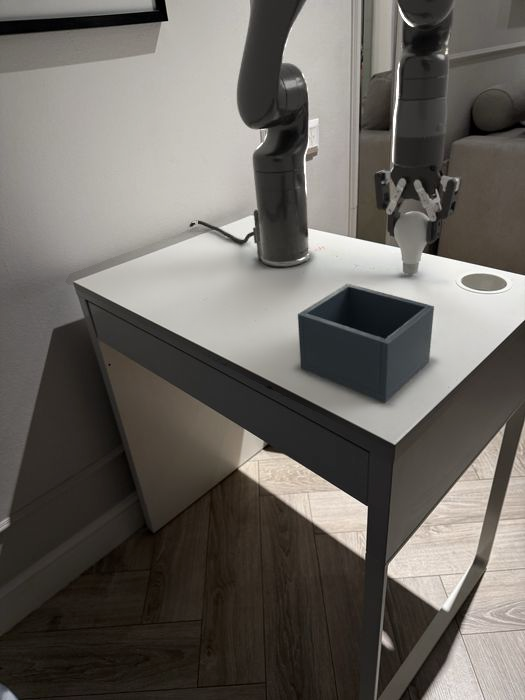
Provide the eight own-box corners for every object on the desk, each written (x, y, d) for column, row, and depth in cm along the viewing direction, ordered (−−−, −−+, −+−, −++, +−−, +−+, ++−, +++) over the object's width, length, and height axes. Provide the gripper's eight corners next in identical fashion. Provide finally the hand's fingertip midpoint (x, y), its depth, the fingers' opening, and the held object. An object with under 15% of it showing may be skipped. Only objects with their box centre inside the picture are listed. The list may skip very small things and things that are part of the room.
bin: (300, 368, 68) (297, 314, 64) (347, 334, 74) (347, 283, 70) (385, 402, 60) (387, 343, 56) (429, 361, 66) (434, 306, 62)
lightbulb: (429, 282, 86) (435, 217, 80) (391, 282, 88) (395, 218, 82) (427, 268, 91) (432, 206, 85) (391, 268, 93) (394, 206, 87)
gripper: (477, 127, 75) (464, 238, 84) (389, 124, 84) (386, 225, 93) (454, 137, 71) (442, 253, 79) (364, 133, 79) (362, 238, 88)
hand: (412, 238), depth 86 cm, fingers closed on lightbulb, 6 cm apart
